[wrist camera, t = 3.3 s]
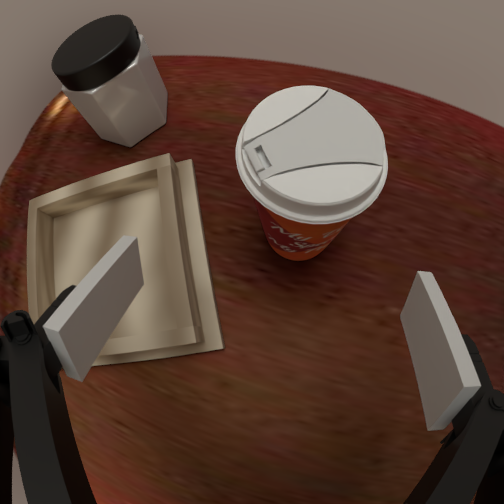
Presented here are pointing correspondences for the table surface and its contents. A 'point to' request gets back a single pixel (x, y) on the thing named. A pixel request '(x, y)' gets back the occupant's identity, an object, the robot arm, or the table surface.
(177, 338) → the cup tray
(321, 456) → the table surface
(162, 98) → the jar
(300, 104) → the paper cup
